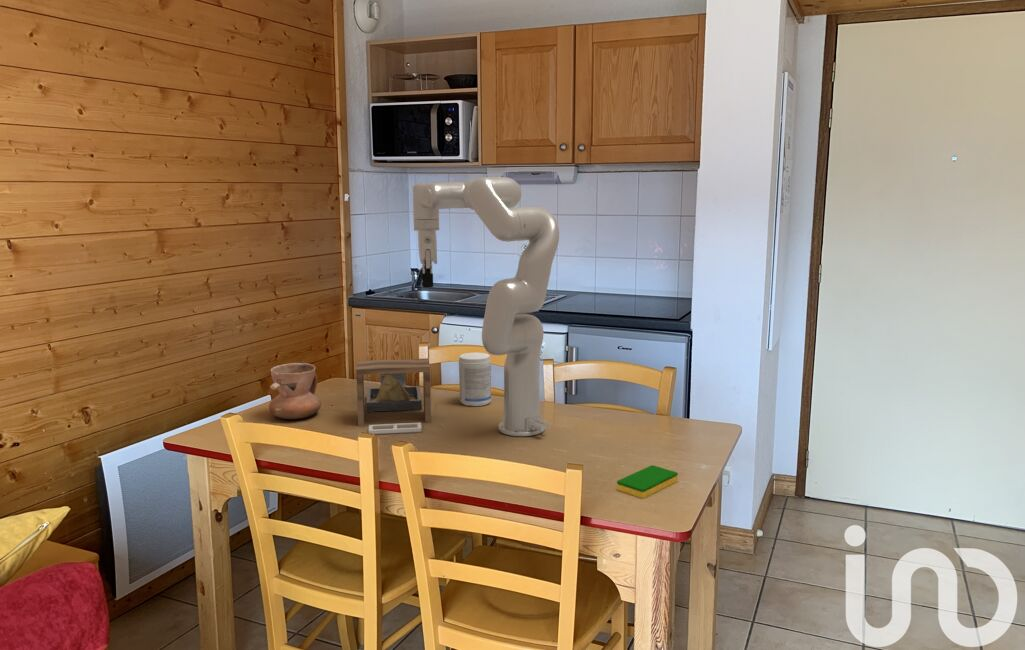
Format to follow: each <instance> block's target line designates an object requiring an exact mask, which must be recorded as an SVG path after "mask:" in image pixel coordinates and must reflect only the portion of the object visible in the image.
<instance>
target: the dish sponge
mask: <svg viewBox="0 0 1025 650" xmlns="http://www.w3.org/2000/svg"><path fill="white" fill-rule="evenodd" d="M678 474H679V473H678V472H676V471H673V470H669V469H667V468H665V467H664V468H663V467H660V466H657V465H653V464H652V465H650V466H647V467H645V468H643V469H640V470H638V471H636V472H634V473H632V474H629V475H627V476H625V477H623V478H620V479H618V480H617V481H616V483H617V484H616V490H617V491H618V492H622V493H626V494H628V495H631V496H634V497H637V498H640V499H644V498H646V497H647V498H648V497H649V496H651V495H653V494H655V493H657V492H659V491H661V490H663V489H664V488H667V487H669V486H671V485H673V484H675V483H676V482H678V477H679V476H678Z"/></svg>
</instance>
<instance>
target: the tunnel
mask: <svg viewBox="0 0 1025 650" xmlns="http://www.w3.org/2000/svg"><path fill="white" fill-rule="evenodd" d="M355 371H356V373H355V374H356V377H355V378H356V397H357V399H356V401H357V402H356V403H357V420H358V421H357V422H358V424H357V425H358V427H359V426H360V427H361V426H365V416H366V412H365V410H366V408H365V387H364V385H365V383H364V375H381V374H391V373H406V374H411V373H417V374H418V373H422V378H423V379H422V382H423V383H422V384H423V385H422V386H423V387H422V388H423V390H422V391H423V413H424V421H425V423H432V408H431V405H432V402H431V401H432V399H431V397H432V396H431V395H432V394H431V365H430V362H429V358H428V357H427V358H405V359H381V360H379V359H376V360H375V359H374V360H373V359H372V360H357V363H356V368H355Z"/></svg>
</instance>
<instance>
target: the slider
mask: <svg viewBox="0 0 1025 650" xmlns="http://www.w3.org/2000/svg"><path fill="white" fill-rule="evenodd" d="M386 375H391V376H393V377H394V379H396V380H397V381H398V382H399V383H400V384H401V385H402V386H403V387H404V389H405V390H406V391H407V392H408V393H409V396H410V397H411V396H412V397H413V396H416V399H412V400H396V401H376V400H375V401H374V400H373V401H372V398H377V395H378V393H379V390H380V387H368V388H367V389H366V391H367V392H366V403H365V405H366V413H368V412H370V413H371V412H390V411H393V412H394V411H409V410H410V411H411V410H414V411H415V410H422V409H423V402H422V401H423V400H422V394H421V389H420V385H413V386H412V385H411V386H407V376H406V375H407V373H391V374H380V385H381V384H382V382H383V380H384V378H385V376H386Z"/></svg>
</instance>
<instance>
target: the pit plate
mask: <svg viewBox="0 0 1025 650" xmlns="http://www.w3.org/2000/svg"><path fill="white" fill-rule="evenodd" d="M422 431H423V430H422V422H408V423H407V422H404V423H403V422H402V423H401V422H400V423H384V424H382V423H381V424H368V434H369V433H372V434H375V435H374V436H376V435H377V436H381V435H397V434H399V435H400V434H401V435H402V434H418V433H419V434H420V433H422Z"/></svg>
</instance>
